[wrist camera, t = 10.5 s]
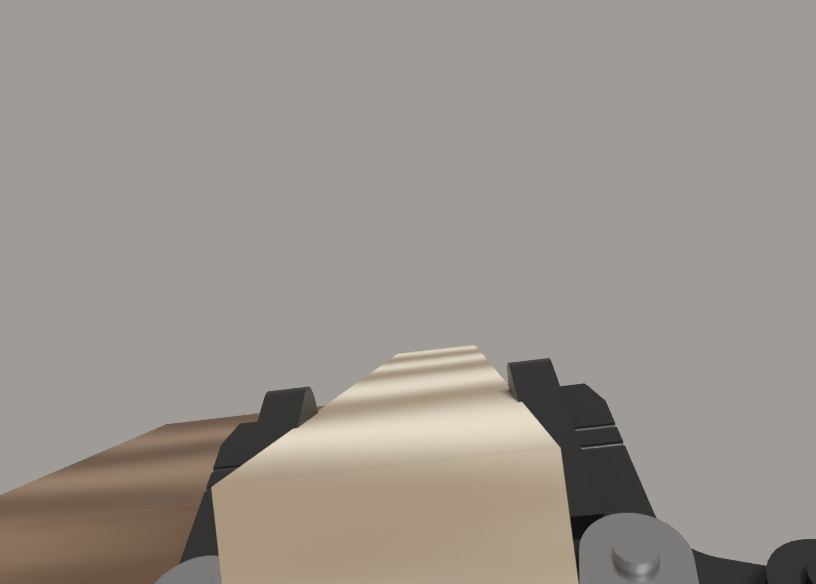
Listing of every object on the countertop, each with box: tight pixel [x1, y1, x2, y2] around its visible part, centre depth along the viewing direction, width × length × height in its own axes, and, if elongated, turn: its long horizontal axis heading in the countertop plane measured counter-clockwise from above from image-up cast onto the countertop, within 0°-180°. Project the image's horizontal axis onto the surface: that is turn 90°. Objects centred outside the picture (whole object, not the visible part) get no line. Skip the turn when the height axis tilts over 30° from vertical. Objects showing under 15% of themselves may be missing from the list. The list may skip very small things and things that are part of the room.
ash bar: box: [211, 345, 579, 584], centre depth 19 cm, size 24×4×4 cm, turn 177°
